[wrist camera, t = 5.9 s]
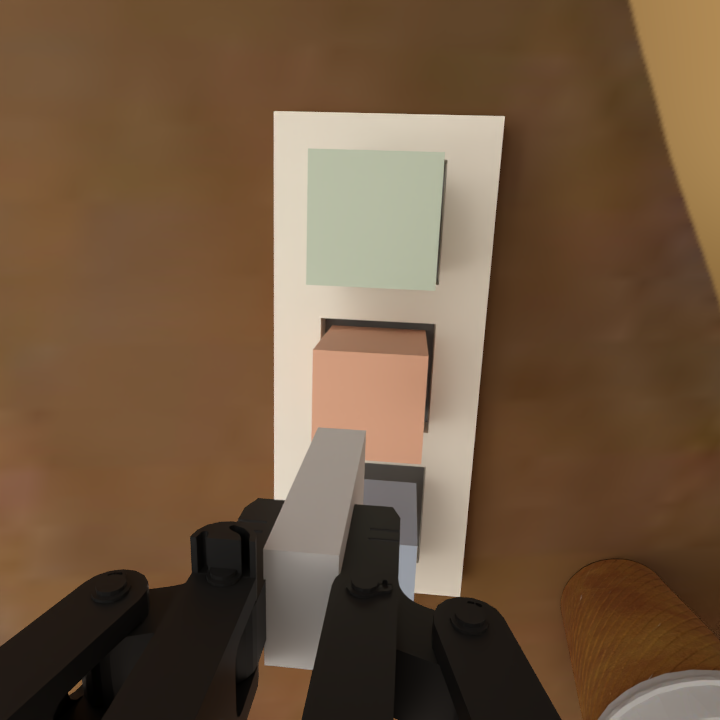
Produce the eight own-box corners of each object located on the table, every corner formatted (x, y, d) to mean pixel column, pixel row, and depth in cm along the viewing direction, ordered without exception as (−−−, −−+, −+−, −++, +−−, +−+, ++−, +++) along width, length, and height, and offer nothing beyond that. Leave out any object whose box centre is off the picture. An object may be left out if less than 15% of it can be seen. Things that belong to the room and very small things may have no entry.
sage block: (331, 165, 26) (308, 148, 20) (437, 168, 26) (444, 152, 20) (328, 271, 27) (306, 284, 21) (430, 276, 27) (435, 290, 21)
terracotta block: (332, 325, 30) (312, 349, 24) (425, 330, 29) (428, 356, 24) (330, 413, 31) (311, 456, 25) (419, 418, 31) (421, 464, 25)
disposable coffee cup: (512, 644, 35) (561, 854, 23) (565, 514, 32) (650, 676, 21) (658, 687, 35) (782, 921, 23) (723, 560, 32) (898, 749, 21)
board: (283, 118, 29) (274, 111, 27) (498, 123, 28) (504, 116, 26) (281, 560, 35) (274, 580, 33) (457, 575, 34) (459, 597, 32)
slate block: (323, 476, 30) (302, 536, 24) (416, 482, 30) (417, 546, 24) (322, 557, 31) (301, 633, 25) (410, 565, 31) (410, 644, 25)
